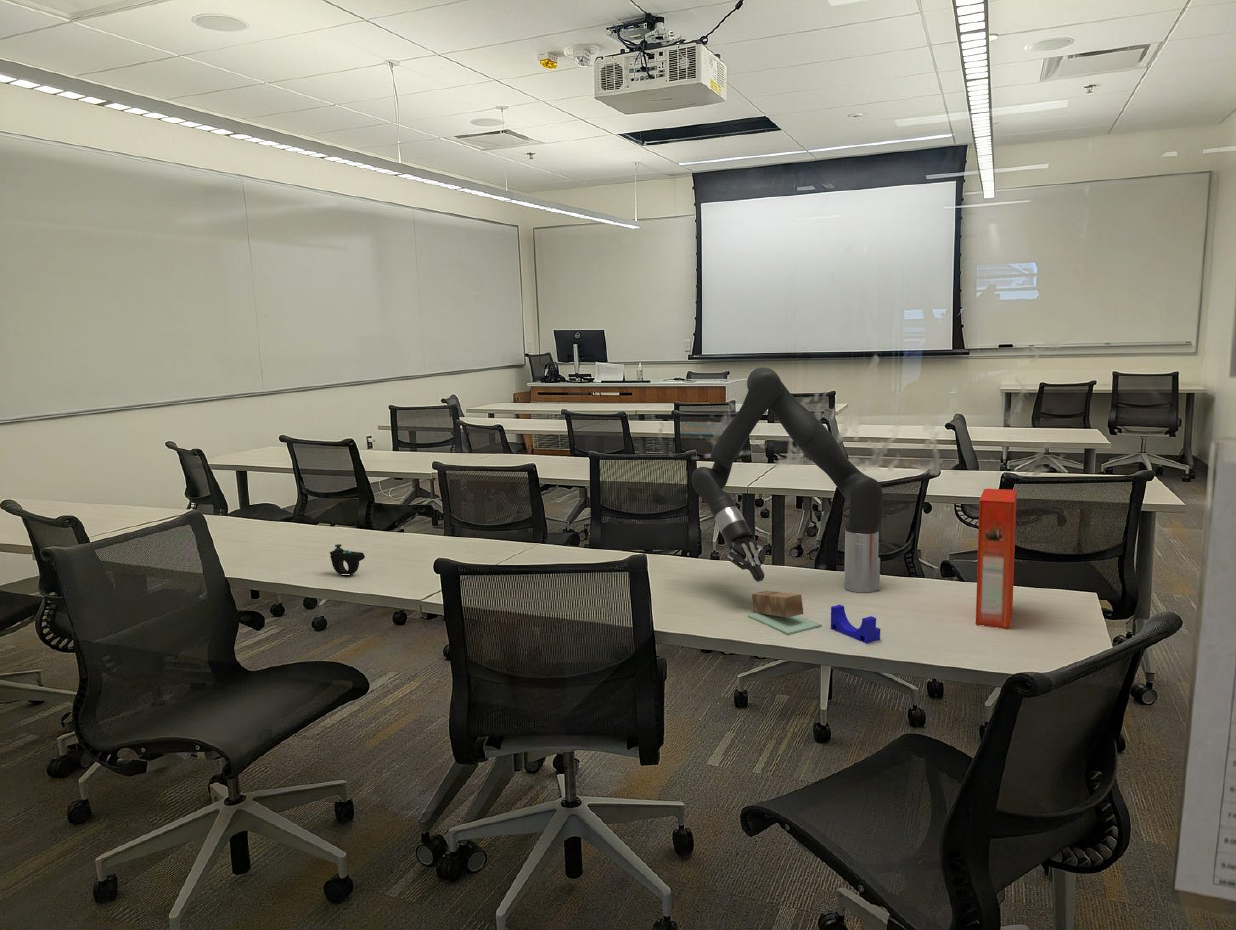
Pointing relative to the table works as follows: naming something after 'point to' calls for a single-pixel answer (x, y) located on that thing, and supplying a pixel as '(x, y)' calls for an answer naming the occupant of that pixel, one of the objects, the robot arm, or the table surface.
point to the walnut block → (777, 603)
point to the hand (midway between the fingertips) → (761, 579)
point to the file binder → (996, 557)
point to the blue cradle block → (842, 625)
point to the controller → (345, 555)
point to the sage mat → (786, 623)
